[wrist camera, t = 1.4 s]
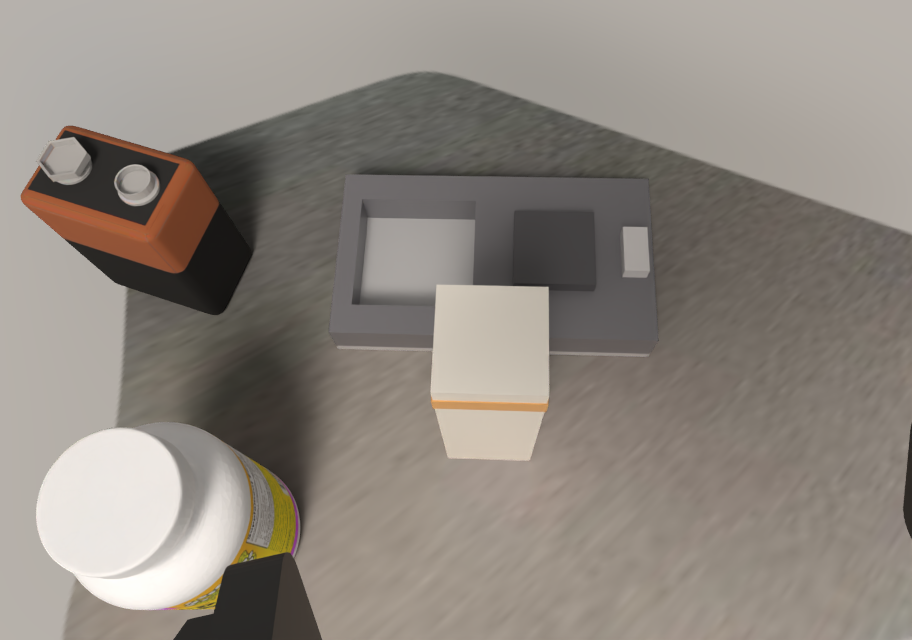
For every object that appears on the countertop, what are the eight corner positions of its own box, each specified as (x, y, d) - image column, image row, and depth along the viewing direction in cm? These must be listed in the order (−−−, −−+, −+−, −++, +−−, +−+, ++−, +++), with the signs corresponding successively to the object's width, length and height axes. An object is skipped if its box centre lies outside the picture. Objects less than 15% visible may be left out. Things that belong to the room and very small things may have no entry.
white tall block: (531, 381, 37) (549, 285, 26) (530, 461, 36) (550, 397, 25) (450, 378, 37) (435, 283, 26) (447, 458, 36) (429, 394, 25)
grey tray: (639, 203, 41) (651, 170, 38) (647, 356, 37) (662, 334, 34) (353, 198, 41) (343, 166, 38) (338, 348, 38) (325, 326, 35)
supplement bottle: (164, 617, 34) (-13, 624, 22) (168, 473, 36) (11, 409, 24) (308, 599, 34) (210, 597, 22) (302, 457, 36) (212, 385, 24)
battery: (149, 217, 42) (51, 106, 32) (256, 251, 40) (188, 145, 31) (112, 284, 40) (-2, 187, 31) (222, 320, 39) (140, 232, 30)
